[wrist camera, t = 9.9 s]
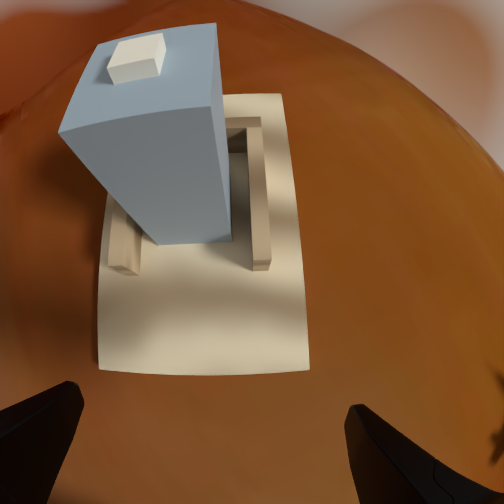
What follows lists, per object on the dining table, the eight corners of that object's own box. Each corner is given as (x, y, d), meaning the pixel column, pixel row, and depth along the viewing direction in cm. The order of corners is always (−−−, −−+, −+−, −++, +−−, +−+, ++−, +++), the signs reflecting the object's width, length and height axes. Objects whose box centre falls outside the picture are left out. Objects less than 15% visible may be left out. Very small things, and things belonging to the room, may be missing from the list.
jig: (306, 368, 18) (320, 376, 14) (104, 368, 18) (76, 373, 14) (280, 99, 24) (284, 69, 20) (129, 112, 23) (116, 85, 20)
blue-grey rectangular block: (232, 241, 19) (207, 86, 7) (158, 245, 19) (46, 118, 6) (230, 175, 21) (214, 7, 8) (162, 180, 21) (92, 31, 8)
